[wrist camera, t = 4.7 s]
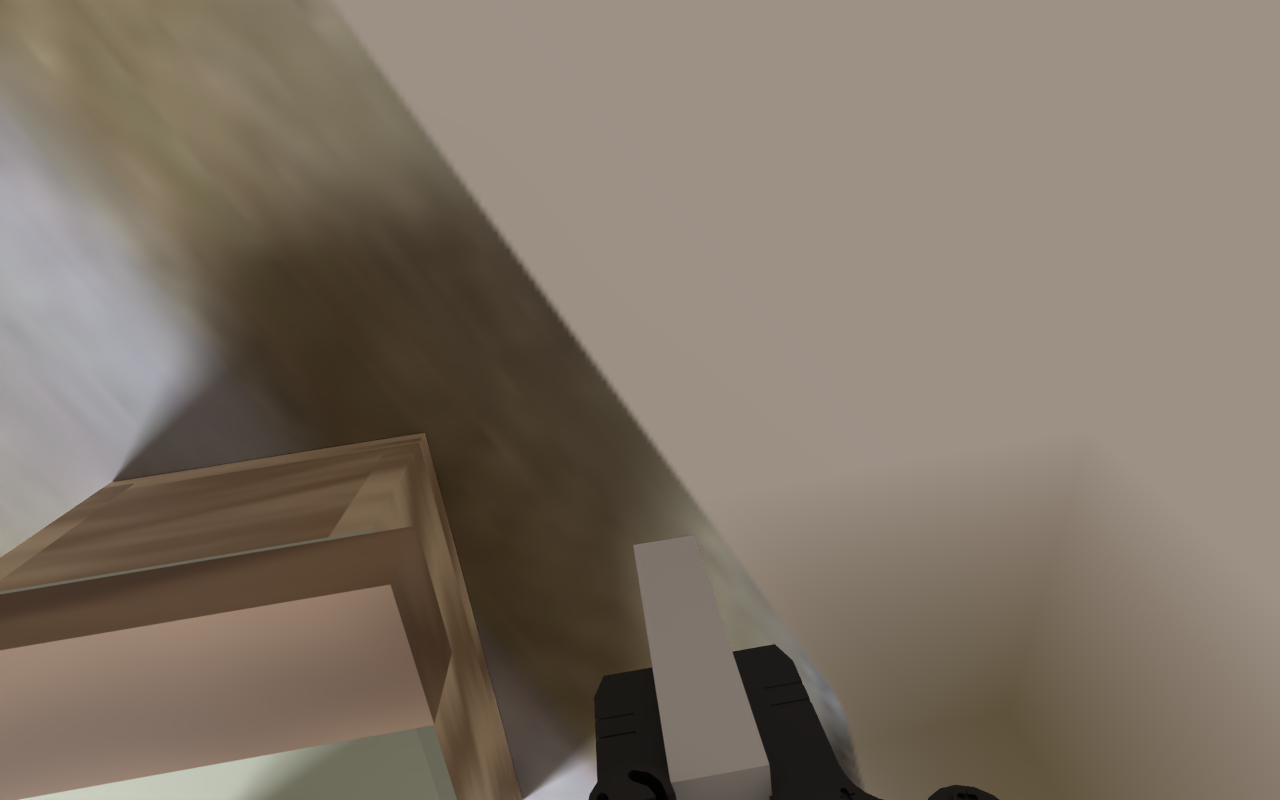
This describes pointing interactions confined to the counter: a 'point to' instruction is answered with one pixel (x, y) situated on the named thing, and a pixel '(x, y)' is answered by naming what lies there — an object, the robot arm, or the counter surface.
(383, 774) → the lid
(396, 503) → the light wood open box
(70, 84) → the counter surface
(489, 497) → the counter surface
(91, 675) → the brown rectangular block
